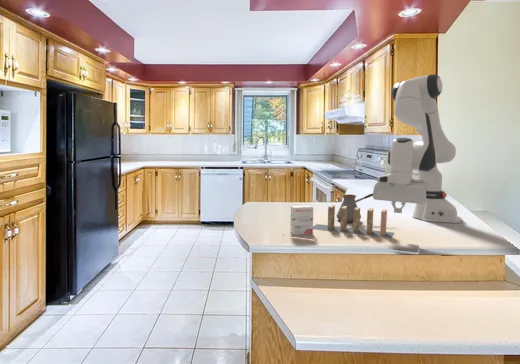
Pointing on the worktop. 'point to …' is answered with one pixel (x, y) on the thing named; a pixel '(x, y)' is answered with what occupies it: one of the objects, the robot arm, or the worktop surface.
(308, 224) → the ink box
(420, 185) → the robot arm
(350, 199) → the coffee pot
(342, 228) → the domino
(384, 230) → the domino
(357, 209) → the domino
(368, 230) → the domino
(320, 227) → the runner mat
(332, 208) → the domino
